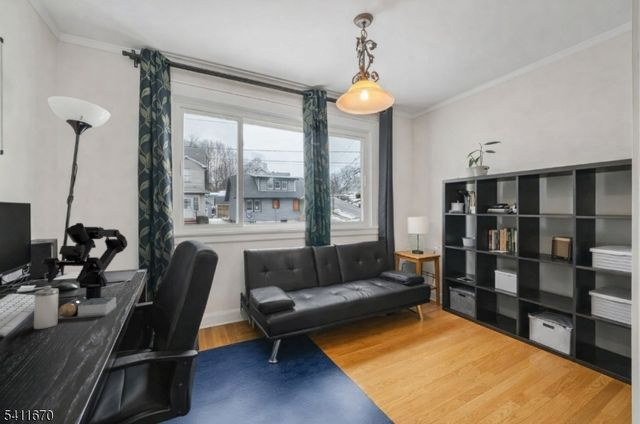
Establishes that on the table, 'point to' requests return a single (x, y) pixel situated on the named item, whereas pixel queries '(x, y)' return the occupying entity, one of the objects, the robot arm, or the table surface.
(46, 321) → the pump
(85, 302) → the motor unit
